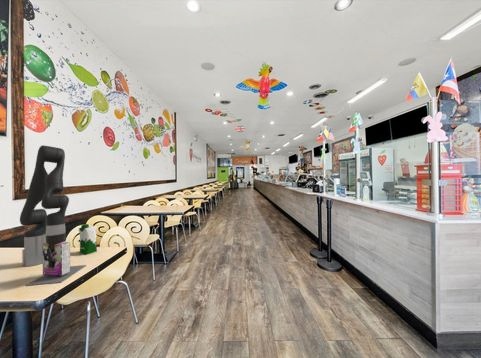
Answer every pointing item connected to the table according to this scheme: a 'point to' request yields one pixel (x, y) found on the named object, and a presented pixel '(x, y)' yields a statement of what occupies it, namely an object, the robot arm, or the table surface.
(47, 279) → the mat
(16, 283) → the table surface
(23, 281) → the table surface
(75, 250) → the table surface
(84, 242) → the milk carton
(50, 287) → the table surface
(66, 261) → the candy bar box
